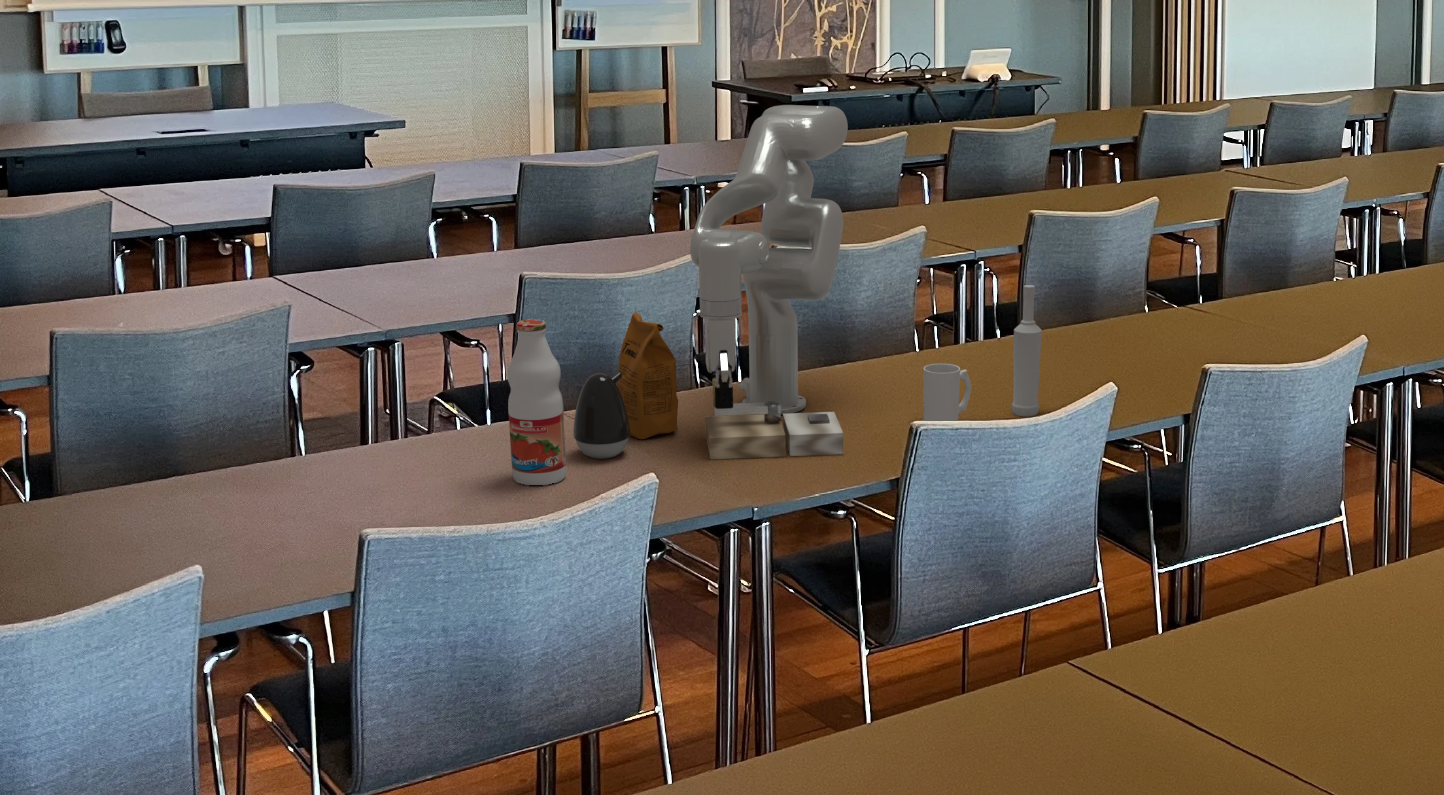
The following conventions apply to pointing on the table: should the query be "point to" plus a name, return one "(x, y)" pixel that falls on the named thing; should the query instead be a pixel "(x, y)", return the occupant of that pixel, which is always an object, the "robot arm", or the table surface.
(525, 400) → the fruit juice
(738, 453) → the stone-look twin blocks
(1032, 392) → the bottle
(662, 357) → the coffee package
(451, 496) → the table surface
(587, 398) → the pump dispenser
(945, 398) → the mug
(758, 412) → the bar
